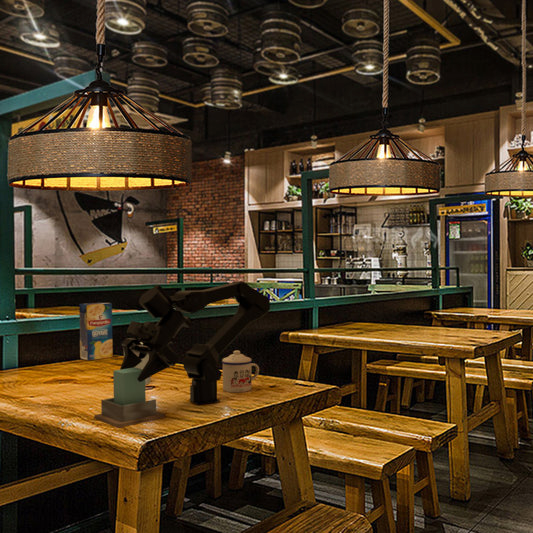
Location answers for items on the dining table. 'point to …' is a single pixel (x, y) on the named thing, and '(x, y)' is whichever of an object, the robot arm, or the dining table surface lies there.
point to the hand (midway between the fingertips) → (128, 378)
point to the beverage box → (95, 330)
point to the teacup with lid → (238, 373)
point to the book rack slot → (128, 413)
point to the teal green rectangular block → (128, 386)
